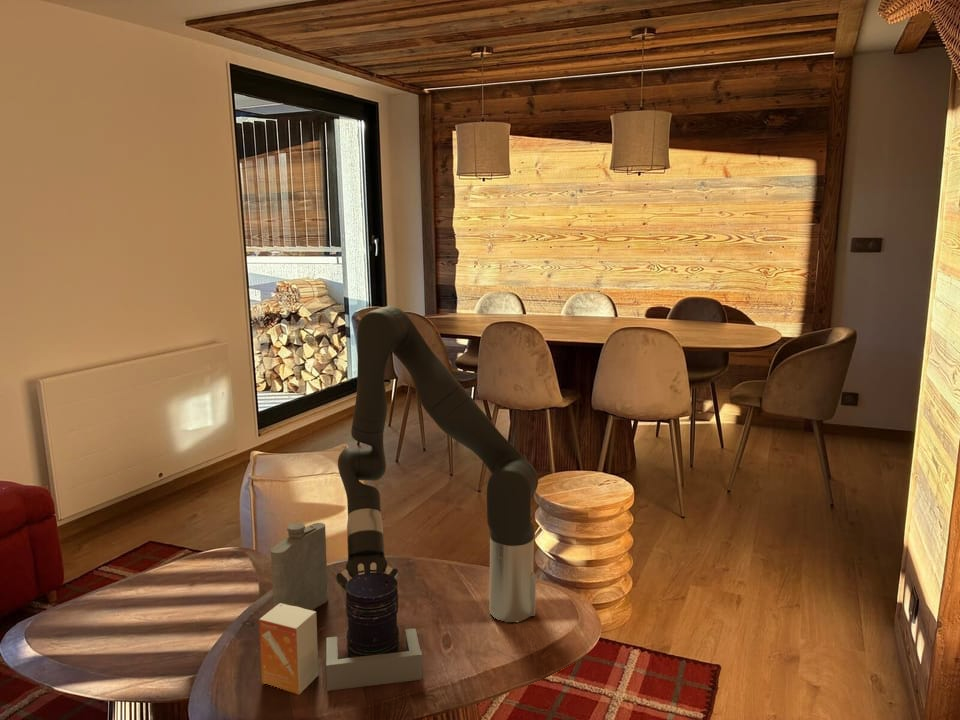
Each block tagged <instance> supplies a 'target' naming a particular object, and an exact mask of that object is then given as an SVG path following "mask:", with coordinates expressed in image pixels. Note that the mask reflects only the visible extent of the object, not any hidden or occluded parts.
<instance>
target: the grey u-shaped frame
mask: <svg viewBox="0 0 960 720" xmlns="http://www.w3.org/2000/svg"><path fill="white" fill-rule="evenodd" d="M404 634H405V636H404V640H405V642H404V643H405V644H404V645H405V651H400V652H397V653H388V654H379V655H370V656H362V657H353V658H348V657H346V658H339V654H338V651H339V649H338V636H330V637H326V652H325V653H326V660H325V666H326V668H325V670H326V691H327V692H328V691H338V690H343V689H353V688H354V689H355V688H361V687H362V688H363V687H368V686H369V687H370V686H378V685H379V686H380V685H385V684H393V683H395V684H397V683H403V682H404V683H405V682H411V681H419V680H423V654H422V653H423V652H422V649H420V648H421V647H420V643H419V639H418V634H417V630H416V628H405V629H404Z"/></svg>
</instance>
